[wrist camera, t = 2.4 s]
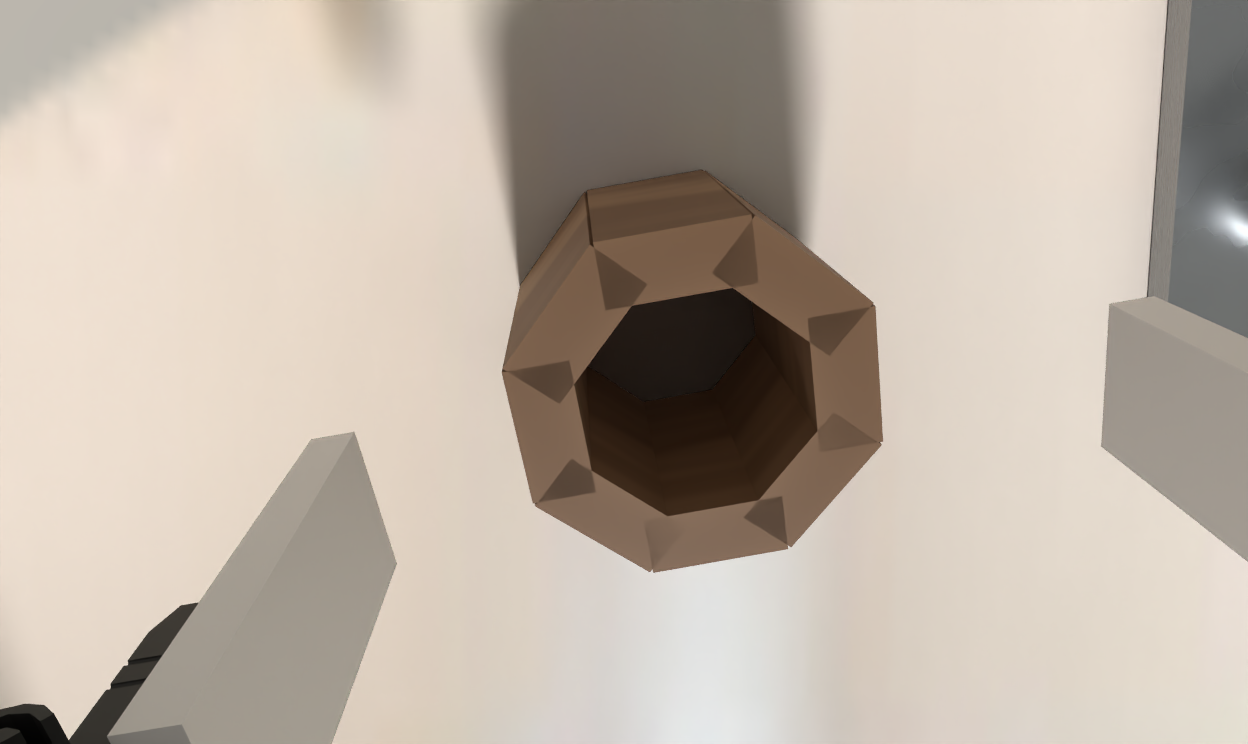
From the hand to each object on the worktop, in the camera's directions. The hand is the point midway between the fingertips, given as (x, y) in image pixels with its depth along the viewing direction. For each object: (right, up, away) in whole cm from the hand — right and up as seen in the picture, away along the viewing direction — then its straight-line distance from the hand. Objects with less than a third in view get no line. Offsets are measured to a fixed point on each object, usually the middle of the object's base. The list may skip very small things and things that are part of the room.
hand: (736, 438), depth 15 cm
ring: (-1, +3, +7) cm, 8 cm away
